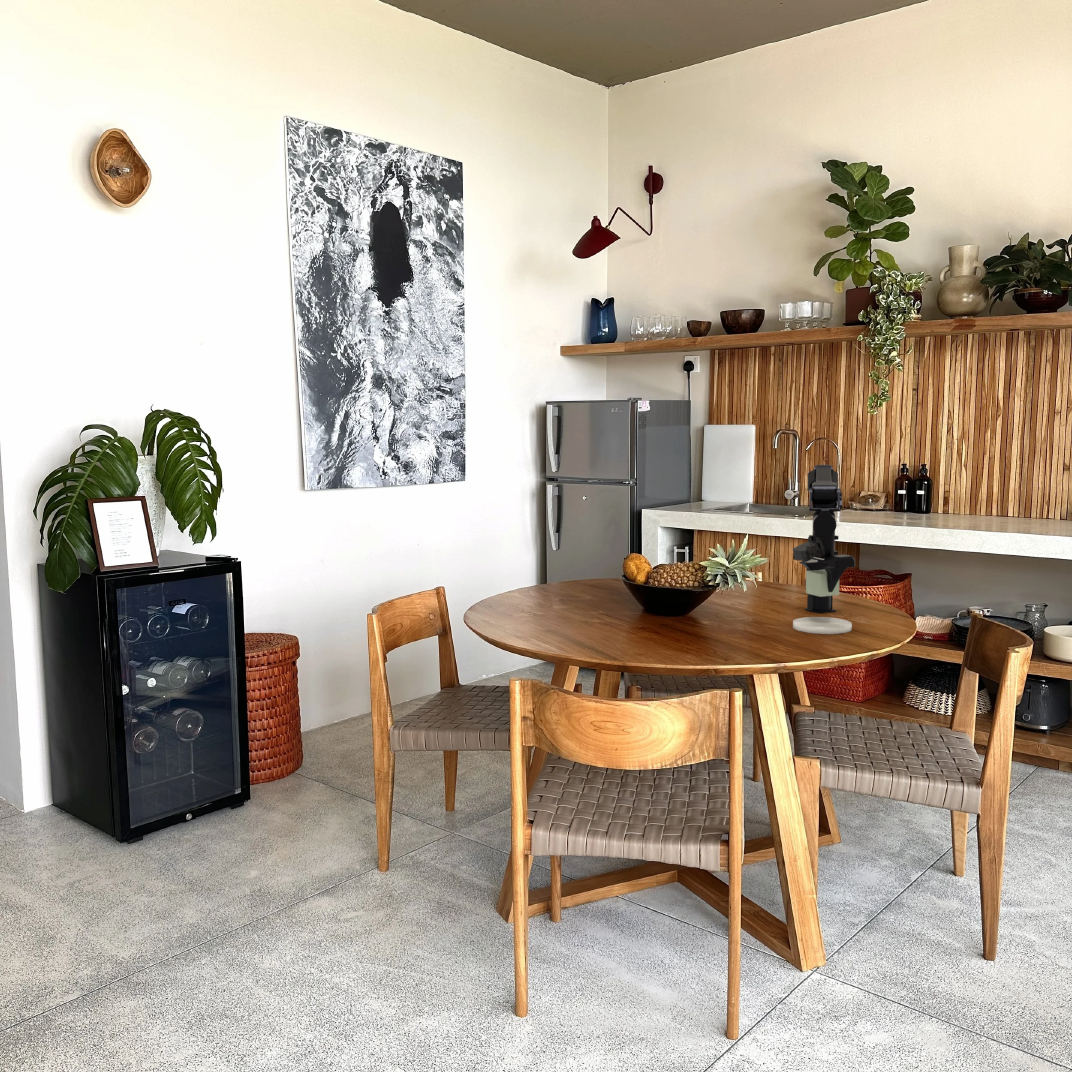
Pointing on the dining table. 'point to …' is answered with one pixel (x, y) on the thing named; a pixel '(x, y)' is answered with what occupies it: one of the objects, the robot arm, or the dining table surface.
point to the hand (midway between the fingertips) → (822, 590)
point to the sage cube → (819, 584)
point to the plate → (822, 625)
